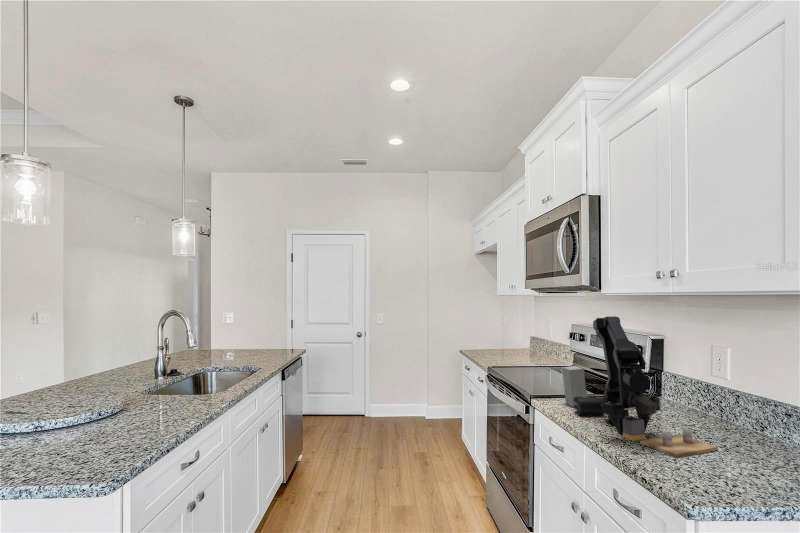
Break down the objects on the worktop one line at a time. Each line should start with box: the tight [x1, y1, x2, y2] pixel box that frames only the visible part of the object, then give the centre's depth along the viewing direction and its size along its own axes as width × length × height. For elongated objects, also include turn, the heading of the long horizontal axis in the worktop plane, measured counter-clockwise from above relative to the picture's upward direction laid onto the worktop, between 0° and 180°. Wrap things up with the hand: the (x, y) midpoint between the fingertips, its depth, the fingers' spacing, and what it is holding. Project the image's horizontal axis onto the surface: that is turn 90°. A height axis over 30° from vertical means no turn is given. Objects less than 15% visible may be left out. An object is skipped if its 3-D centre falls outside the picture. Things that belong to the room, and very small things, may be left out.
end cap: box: [573, 395, 606, 416], centre depth 158 cm, size 10×7×7 cm
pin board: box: [639, 428, 719, 459], centre depth 123 cm, size 12×16×4 cm
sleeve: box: [619, 415, 646, 442], centre depth 132 cm, size 5×5×6 cm
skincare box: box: [561, 365, 588, 408], centre depth 172 cm, size 8×7×16 cm
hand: (632, 433), depth 132 cm, fingers open, 9 cm apart
